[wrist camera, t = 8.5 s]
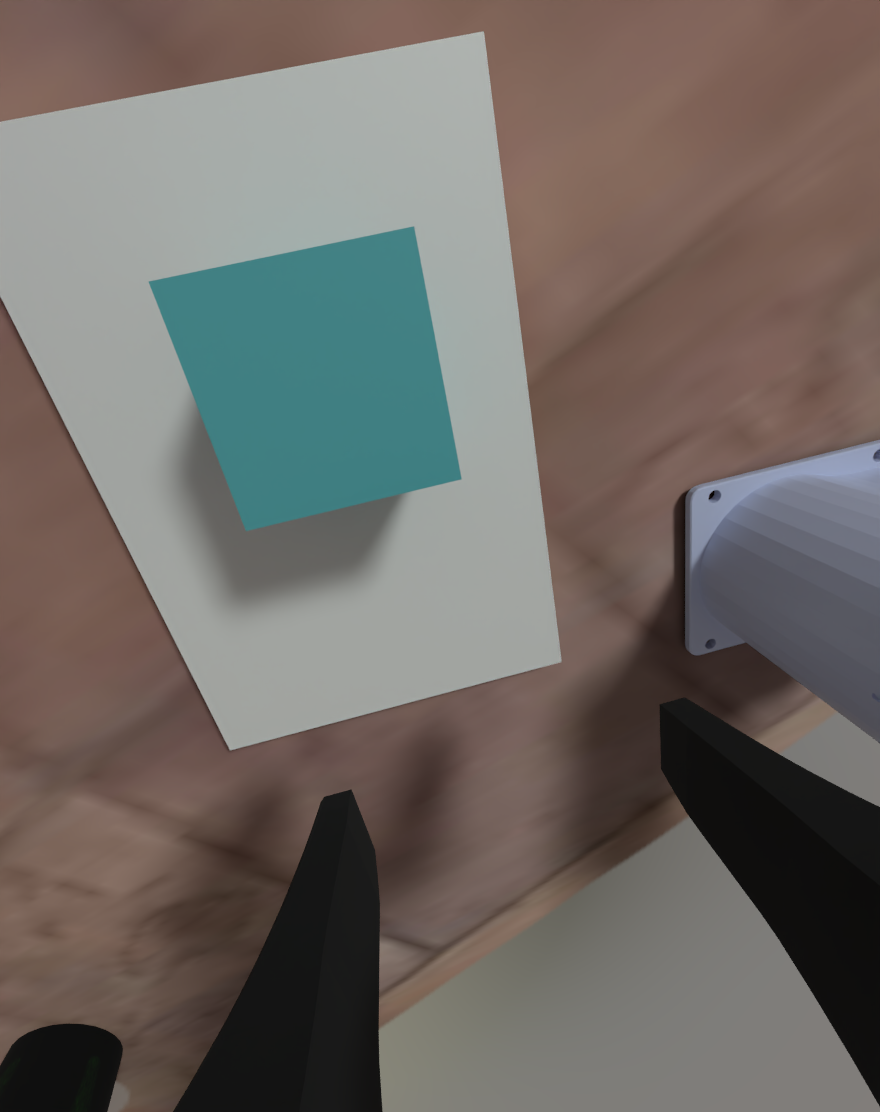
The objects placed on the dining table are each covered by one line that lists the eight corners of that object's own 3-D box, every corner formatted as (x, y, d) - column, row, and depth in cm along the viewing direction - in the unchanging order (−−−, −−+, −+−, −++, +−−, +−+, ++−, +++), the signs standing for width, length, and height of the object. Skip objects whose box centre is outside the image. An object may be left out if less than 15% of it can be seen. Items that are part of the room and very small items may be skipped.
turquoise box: (394, 269, 14) (414, 226, 9) (430, 439, 16) (461, 478, 11) (223, 306, 14) (148, 280, 9) (281, 474, 16) (245, 530, 11)
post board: (475, 52, 14) (539, -113, 9) (552, 648, 22) (608, 734, 17) (-50, 151, 13) (-299, 30, 8) (235, 733, 21) (198, 848, 16)
